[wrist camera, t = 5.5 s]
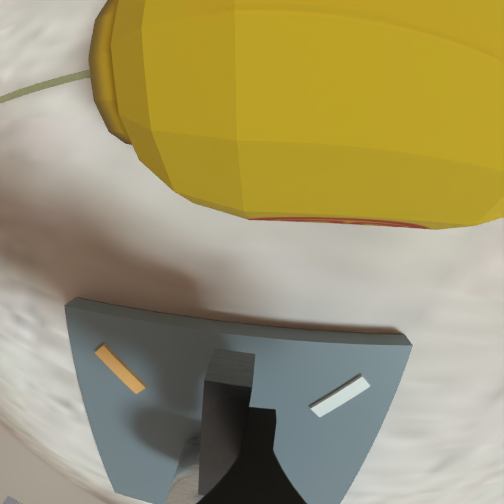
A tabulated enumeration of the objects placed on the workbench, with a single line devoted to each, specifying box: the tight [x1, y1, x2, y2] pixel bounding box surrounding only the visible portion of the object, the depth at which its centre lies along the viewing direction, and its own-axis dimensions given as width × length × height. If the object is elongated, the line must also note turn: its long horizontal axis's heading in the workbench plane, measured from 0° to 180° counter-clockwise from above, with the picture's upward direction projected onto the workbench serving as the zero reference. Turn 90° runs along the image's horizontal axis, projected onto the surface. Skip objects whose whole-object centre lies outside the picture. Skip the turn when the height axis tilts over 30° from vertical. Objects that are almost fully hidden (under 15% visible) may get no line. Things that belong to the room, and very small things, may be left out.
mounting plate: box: [65, 298, 413, 504], centre depth 17 cm, size 18×18×1 cm
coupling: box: [166, 348, 255, 504], centre depth 13 cm, size 12×5×5 cm, turn 172°
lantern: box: [0, 0, 504, 230], centre depth 8 cm, size 10×10×30 cm
